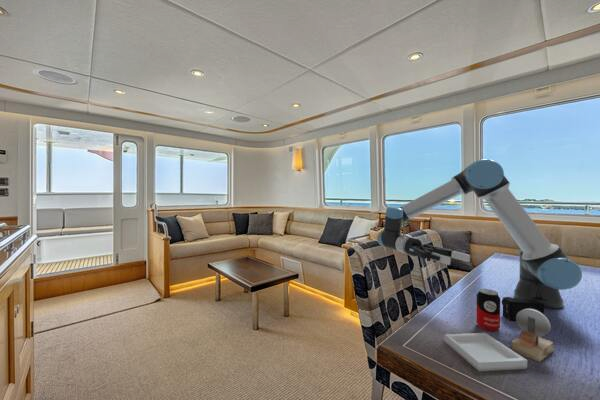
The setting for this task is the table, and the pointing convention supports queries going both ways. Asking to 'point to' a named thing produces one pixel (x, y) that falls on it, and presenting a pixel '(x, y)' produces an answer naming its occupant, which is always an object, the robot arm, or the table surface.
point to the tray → (485, 352)
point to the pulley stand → (532, 335)
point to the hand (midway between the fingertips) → (460, 260)
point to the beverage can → (488, 309)
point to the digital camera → (519, 306)
